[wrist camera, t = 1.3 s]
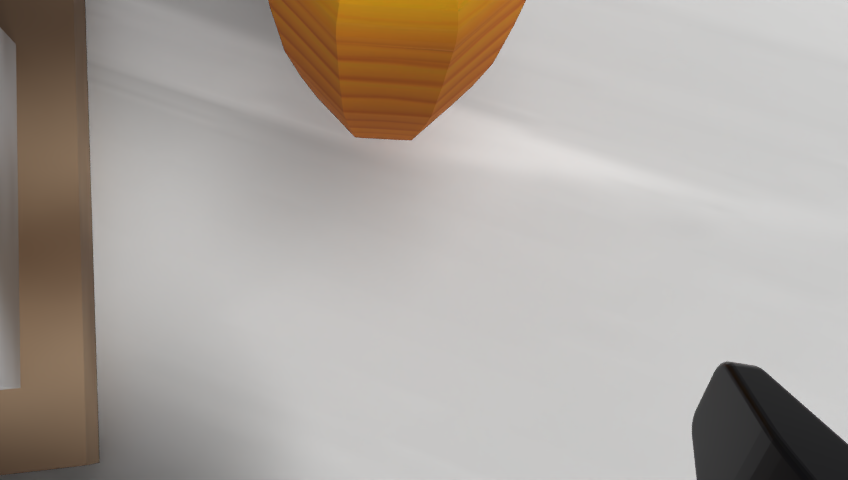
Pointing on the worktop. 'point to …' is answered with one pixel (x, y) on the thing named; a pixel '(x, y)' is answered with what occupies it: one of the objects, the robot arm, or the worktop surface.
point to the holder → (46, 240)
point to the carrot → (392, 56)
